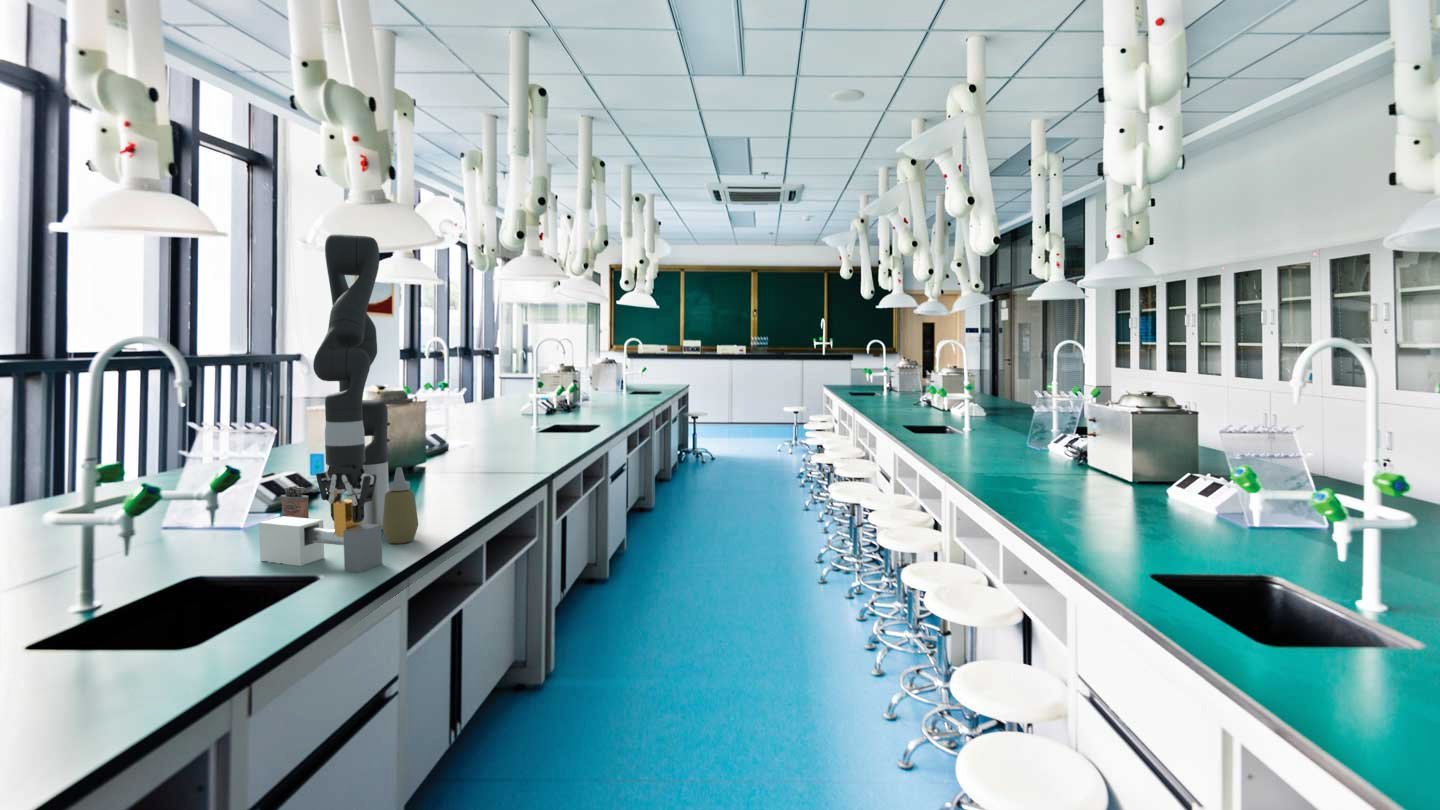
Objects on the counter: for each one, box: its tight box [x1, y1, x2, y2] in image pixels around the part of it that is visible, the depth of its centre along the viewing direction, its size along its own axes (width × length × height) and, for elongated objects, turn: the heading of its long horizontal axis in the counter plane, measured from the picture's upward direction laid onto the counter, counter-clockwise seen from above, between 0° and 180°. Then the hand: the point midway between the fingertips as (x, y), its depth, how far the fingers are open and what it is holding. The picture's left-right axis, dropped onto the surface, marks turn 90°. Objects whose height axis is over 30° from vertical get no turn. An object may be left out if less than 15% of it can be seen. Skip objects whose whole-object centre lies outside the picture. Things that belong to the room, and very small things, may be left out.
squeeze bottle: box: [382, 466, 419, 545], centre depth 178 cm, size 8×8×18 cm
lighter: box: [280, 485, 310, 519], centre depth 194 cm, size 8×3×10 cm, turn 73°
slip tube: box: [304, 498, 360, 546], centre depth 159 cm, size 18×4×10 cm, turn 74°
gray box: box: [343, 524, 383, 573], centre depth 157 cm, size 4×6×9 cm, turn 164°
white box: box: [258, 516, 325, 567], centre depth 162 cm, size 11×6×9 cm, turn 74°
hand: (347, 520), depth 158 cm, fingers open, 4 cm apart
